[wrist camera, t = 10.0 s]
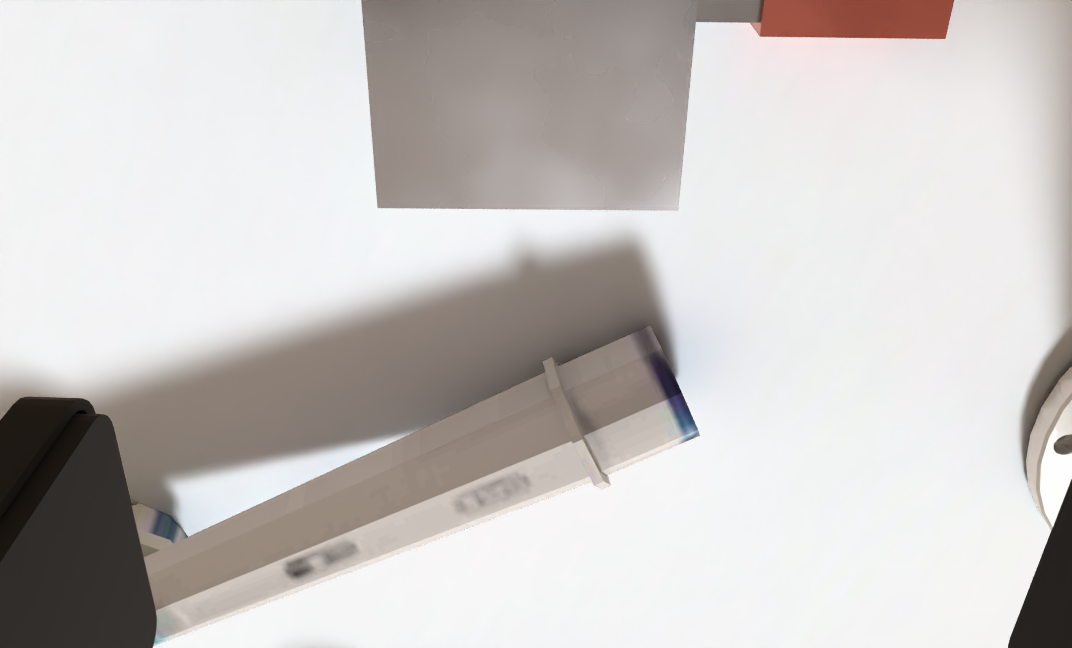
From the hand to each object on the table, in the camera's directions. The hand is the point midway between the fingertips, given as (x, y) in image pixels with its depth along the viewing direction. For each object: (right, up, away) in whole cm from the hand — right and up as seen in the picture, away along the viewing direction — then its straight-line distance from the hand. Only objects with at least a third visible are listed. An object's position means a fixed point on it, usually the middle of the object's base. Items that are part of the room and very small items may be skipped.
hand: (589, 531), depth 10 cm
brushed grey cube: (-1, +11, +15) cm, 18 cm away
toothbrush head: (-7, -3, +27) cm, 28 cm away
